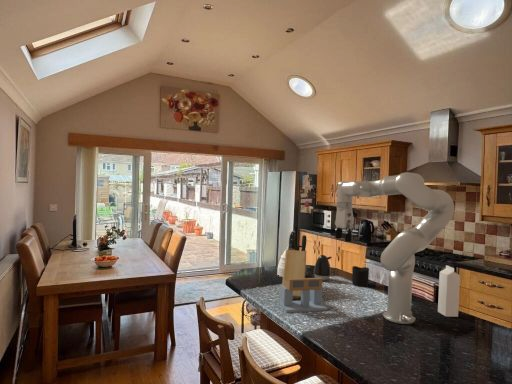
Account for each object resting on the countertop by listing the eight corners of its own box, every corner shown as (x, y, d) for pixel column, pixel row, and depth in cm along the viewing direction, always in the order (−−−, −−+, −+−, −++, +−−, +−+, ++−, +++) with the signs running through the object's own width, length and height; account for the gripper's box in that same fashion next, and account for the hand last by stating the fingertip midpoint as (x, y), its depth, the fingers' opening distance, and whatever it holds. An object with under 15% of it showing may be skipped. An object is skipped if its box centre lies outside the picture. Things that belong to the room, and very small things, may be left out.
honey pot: (299, 277, 207) (300, 248, 207) (278, 277, 206) (279, 248, 206) (295, 272, 220) (296, 245, 220) (275, 272, 219) (277, 244, 219)
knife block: (305, 282, 196) (307, 230, 196) (303, 303, 162) (306, 239, 161) (286, 281, 198) (288, 229, 198) (280, 300, 164) (282, 237, 163)
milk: (449, 312, 157) (452, 265, 157) (458, 317, 151) (460, 268, 151) (437, 311, 157) (439, 264, 156) (445, 316, 151) (447, 268, 150)
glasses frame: (321, 289, 155) (322, 278, 155) (289, 290, 151) (289, 279, 151) (313, 283, 164) (314, 273, 163) (282, 284, 160) (283, 274, 160)
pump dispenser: (332, 282, 200) (333, 257, 199) (315, 281, 200) (316, 256, 200) (328, 277, 210) (329, 253, 210) (312, 277, 210) (313, 252, 210)
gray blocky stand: (327, 310, 153) (328, 290, 153) (286, 312, 148) (287, 292, 148) (317, 301, 164) (318, 283, 164) (278, 303, 159) (279, 285, 159)
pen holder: (359, 281, 203) (359, 265, 203) (371, 286, 195) (372, 268, 195) (348, 283, 198) (348, 266, 198) (360, 288, 190) (361, 270, 190)
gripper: (360, 207, 160) (359, 243, 160) (342, 205, 177) (341, 237, 177) (346, 207, 158) (344, 243, 158) (329, 204, 175) (328, 237, 175)
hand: (343, 240), depth 168 cm, fingers open, 9 cm apart
